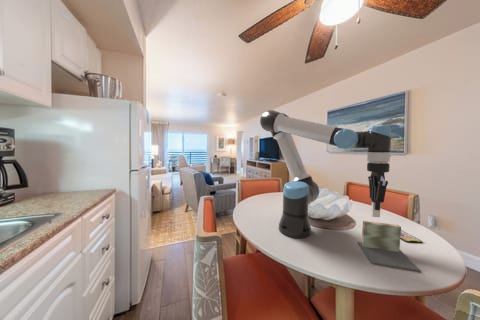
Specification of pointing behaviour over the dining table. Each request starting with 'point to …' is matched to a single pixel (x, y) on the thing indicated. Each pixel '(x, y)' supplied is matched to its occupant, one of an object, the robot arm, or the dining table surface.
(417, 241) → the smartphone
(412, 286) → the dining table surface
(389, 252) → the mat
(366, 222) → the tile
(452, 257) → the dining table surface
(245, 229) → the dining table surface
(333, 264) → the dining table surface
